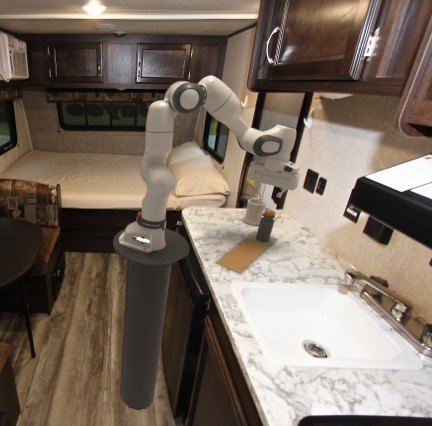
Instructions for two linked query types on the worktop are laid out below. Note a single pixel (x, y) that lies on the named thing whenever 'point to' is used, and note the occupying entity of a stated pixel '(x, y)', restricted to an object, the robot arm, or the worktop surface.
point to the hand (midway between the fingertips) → (267, 194)
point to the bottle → (265, 225)
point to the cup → (254, 211)
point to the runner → (242, 255)
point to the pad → (253, 237)
